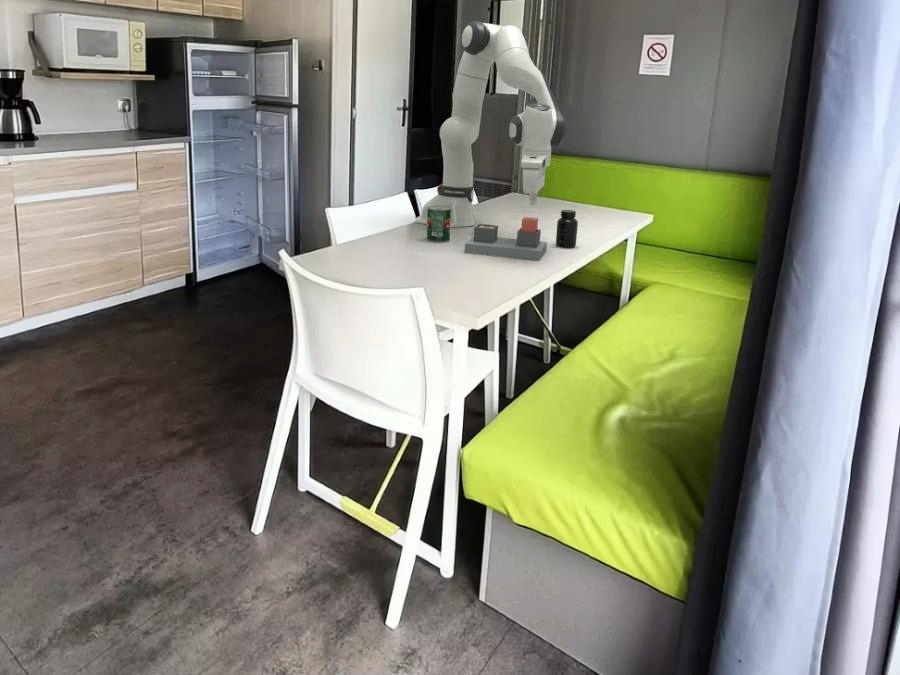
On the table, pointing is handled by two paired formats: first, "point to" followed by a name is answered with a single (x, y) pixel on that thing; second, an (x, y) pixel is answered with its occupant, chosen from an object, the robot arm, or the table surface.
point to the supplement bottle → (567, 229)
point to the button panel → (506, 244)
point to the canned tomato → (438, 223)
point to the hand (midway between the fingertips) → (533, 204)
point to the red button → (529, 225)
